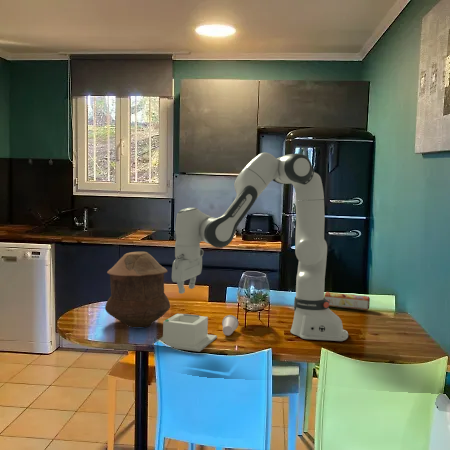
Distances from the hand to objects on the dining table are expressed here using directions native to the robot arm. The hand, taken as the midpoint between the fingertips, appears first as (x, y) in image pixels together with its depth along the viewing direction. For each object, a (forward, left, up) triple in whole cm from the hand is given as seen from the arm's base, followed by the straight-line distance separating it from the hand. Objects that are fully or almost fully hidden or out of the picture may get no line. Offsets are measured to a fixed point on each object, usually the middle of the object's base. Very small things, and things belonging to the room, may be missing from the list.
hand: (186, 290), depth 190 cm
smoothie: (-13, -10, -16) cm, 23 cm away
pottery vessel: (+25, -11, -19) cm, 34 cm away
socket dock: (0, 0, -19) cm, 19 cm away
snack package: (-58, -73, -13) cm, 94 cm away
